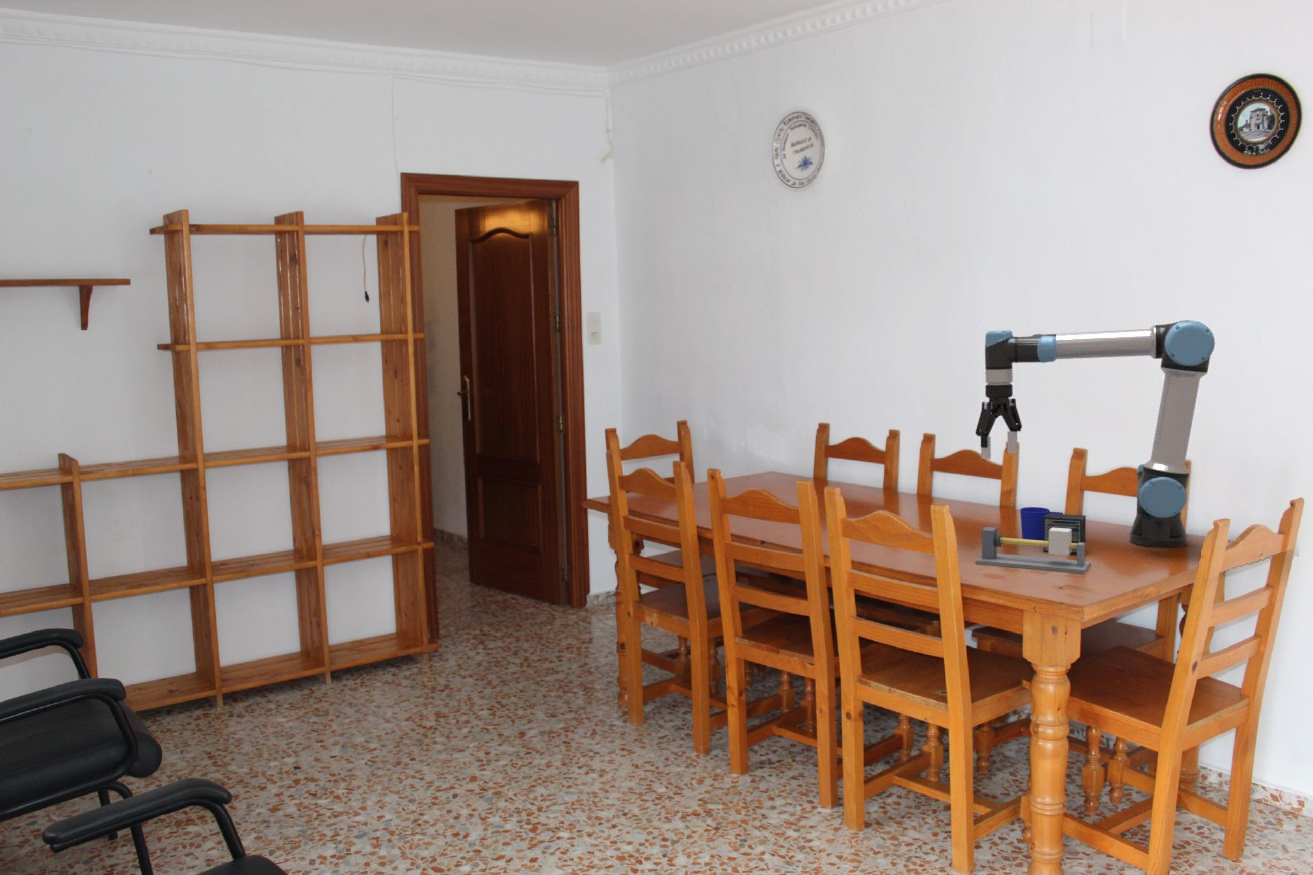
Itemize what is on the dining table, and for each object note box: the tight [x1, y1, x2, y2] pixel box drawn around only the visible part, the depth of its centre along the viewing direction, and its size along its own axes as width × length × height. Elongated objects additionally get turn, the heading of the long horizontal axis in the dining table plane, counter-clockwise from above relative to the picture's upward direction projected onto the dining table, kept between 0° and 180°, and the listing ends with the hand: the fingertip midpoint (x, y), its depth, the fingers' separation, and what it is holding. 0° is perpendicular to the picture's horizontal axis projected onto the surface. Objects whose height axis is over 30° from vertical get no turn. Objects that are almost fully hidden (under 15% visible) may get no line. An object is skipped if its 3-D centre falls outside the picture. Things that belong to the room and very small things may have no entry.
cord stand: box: [975, 526, 1092, 575], centre depth 285 cm, size 28×10×9 cm, turn 59°
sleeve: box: [1048, 527, 1072, 557], centre depth 281 cm, size 5×4×6 cm
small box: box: [1043, 513, 1087, 556], centre depth 299 cm, size 11×6×10 cm, turn 59°
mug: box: [1019, 506, 1064, 541], centre depth 311 cm, size 8×12×10 cm
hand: (999, 456), depth 308 cm, fingers open, 13 cm apart
